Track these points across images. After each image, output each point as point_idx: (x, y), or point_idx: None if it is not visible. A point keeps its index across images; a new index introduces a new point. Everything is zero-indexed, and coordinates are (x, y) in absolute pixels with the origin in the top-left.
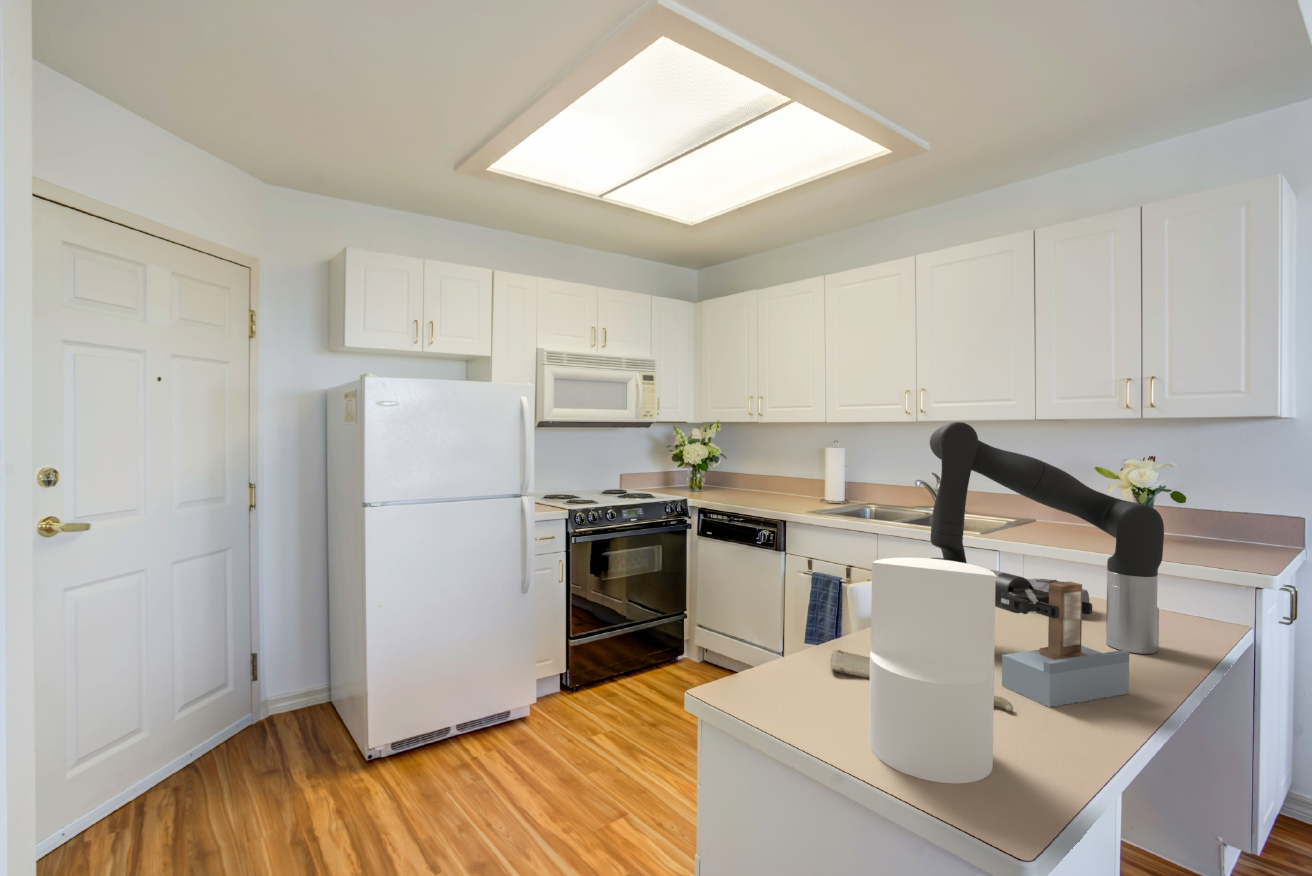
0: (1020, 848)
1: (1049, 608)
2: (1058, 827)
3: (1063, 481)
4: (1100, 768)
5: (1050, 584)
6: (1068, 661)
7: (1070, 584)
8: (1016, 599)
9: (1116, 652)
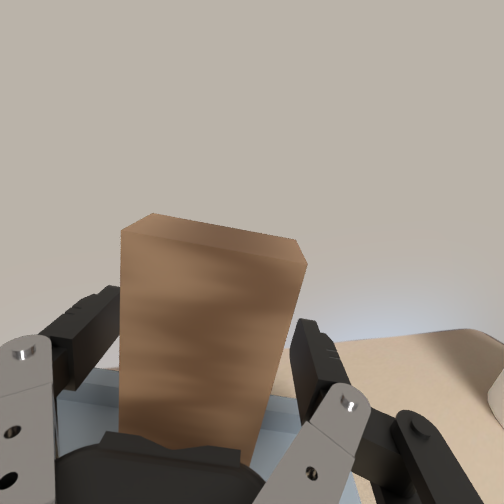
0: (478, 334)
1: (329, 338)
2: (444, 332)
3: None
4: (364, 348)
5: (304, 264)
6: (282, 397)
7: (210, 228)
8: (474, 493)
9: (88, 375)
